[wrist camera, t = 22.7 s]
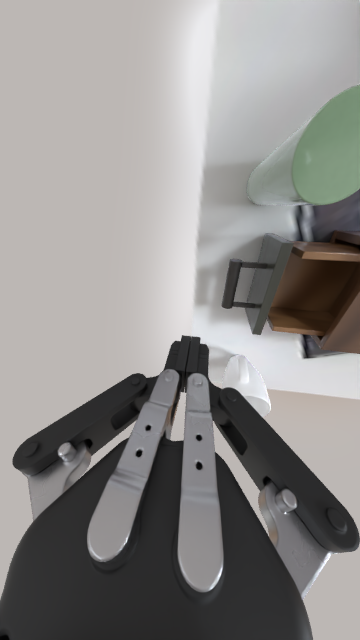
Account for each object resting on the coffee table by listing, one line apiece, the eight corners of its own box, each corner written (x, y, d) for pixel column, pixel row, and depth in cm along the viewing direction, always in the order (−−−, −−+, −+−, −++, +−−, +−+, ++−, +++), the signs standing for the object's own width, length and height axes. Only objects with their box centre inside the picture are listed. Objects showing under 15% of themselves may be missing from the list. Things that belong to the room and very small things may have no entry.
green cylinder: (251, 160, 21) (313, 85, 8) (291, 159, 20) (429, 77, 7) (243, 205, 24) (279, 204, 10) (278, 205, 23) (363, 205, 10)
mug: (257, 372, 41) (270, 421, 32) (222, 373, 43) (224, 419, 34) (258, 333, 35) (275, 380, 26) (217, 336, 37) (218, 380, 28)
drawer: (218, 306, 32) (219, 330, 26) (230, 232, 25) (236, 240, 19) (325, 316, 30) (354, 345, 24) (372, 237, 22) (431, 249, 16)
